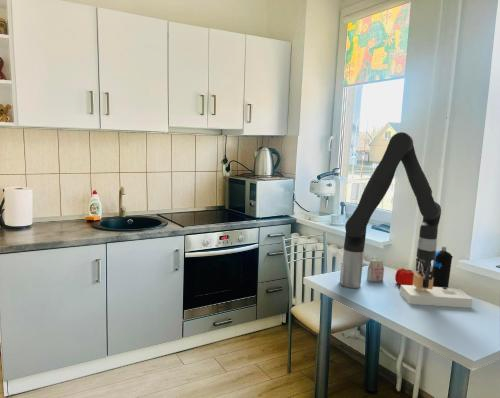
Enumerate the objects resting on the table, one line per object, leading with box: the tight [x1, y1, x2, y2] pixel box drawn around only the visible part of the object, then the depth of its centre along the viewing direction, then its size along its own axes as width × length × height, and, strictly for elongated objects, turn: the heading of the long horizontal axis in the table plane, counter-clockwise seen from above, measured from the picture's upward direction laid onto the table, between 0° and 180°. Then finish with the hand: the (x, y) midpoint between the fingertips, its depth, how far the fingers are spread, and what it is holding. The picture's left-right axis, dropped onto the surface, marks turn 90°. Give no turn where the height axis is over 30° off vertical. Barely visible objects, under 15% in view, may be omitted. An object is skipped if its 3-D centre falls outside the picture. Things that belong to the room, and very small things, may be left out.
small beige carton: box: [366, 259, 385, 283], centre depth 194 cm, size 4×7×10 cm, turn 107°
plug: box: [412, 271, 434, 292], centre depth 172 cm, size 6×6×9 cm
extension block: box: [399, 285, 473, 309], centre depth 173 cm, size 26×12×5 cm, turn 88°
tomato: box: [394, 267, 415, 286], centre depth 190 cm, size 9×9×8 cm
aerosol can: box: [432, 245, 453, 288], centre depth 189 cm, size 8×8×20 cm
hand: (422, 284), depth 172 cm, fingers closed on plug, 5 cm apart
